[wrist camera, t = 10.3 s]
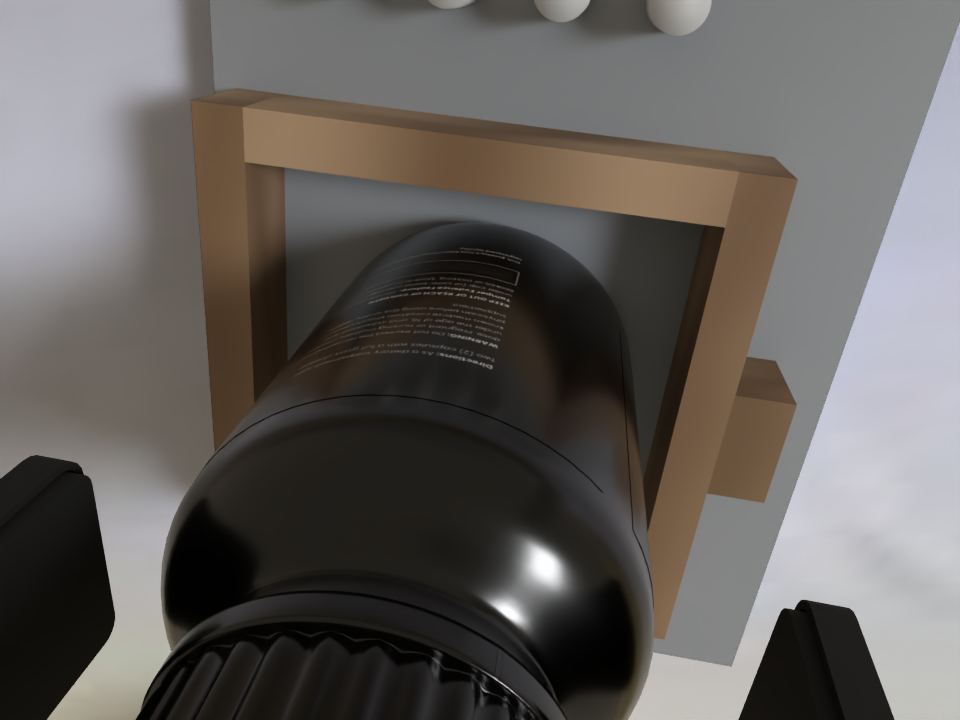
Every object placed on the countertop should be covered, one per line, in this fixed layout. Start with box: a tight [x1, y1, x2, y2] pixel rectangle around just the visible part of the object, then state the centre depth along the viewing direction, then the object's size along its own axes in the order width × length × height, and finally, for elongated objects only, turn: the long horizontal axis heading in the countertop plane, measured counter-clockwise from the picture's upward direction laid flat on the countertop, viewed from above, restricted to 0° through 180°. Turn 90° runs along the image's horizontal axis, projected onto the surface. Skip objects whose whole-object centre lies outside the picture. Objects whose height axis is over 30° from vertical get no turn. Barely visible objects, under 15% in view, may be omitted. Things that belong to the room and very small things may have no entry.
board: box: [209, 0, 960, 667], centre depth 17 cm, size 14×18×3 cm
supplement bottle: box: [136, 222, 654, 720], centre depth 12 cm, size 7×7×12 cm
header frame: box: [191, 88, 798, 639], centre depth 17 cm, size 12×11×2 cm
